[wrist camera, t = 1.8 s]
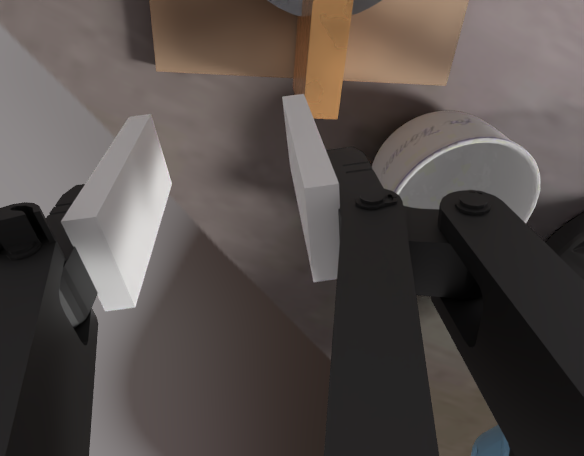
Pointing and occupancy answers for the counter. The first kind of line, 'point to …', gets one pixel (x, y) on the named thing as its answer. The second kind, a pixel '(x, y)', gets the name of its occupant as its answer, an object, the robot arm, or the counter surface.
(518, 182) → the teacup
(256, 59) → the board
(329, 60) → the dial
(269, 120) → the counter surface
